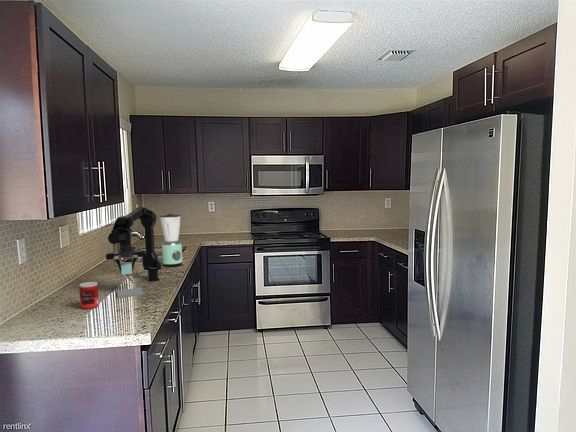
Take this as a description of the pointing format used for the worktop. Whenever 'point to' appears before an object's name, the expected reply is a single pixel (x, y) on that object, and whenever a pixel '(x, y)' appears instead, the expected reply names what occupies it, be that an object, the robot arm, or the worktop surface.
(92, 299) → the canned food
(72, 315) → the worktop surface
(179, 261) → the blender
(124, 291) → the pad
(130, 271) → the block
